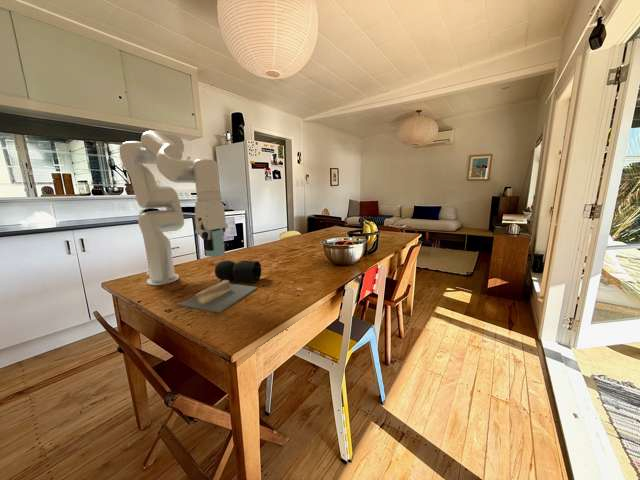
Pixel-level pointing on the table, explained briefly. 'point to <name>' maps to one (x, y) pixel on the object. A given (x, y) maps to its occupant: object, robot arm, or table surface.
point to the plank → (213, 292)
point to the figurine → (238, 271)
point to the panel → (221, 299)
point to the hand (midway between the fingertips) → (214, 248)
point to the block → (216, 244)
